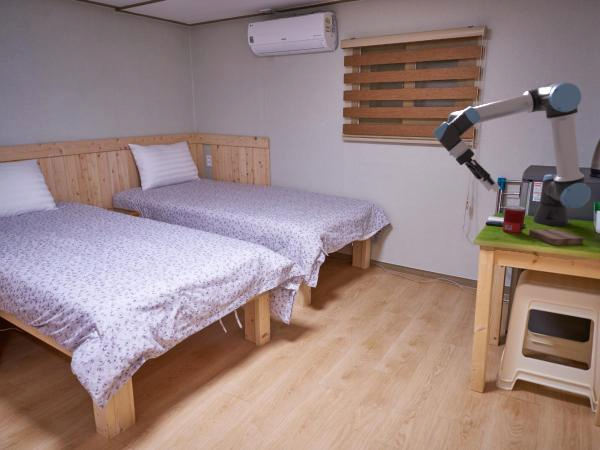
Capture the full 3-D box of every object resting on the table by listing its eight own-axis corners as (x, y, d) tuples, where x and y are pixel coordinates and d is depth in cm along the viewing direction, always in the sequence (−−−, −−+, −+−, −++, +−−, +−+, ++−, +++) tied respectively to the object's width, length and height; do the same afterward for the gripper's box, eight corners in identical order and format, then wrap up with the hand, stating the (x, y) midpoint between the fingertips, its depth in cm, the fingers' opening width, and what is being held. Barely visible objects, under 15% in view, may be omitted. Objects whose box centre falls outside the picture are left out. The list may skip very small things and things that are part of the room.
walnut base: (557, 234, 199) (558, 228, 198) (582, 243, 186) (583, 237, 185) (528, 235, 196) (529, 230, 195) (552, 245, 183) (553, 239, 182)
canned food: (524, 234, 198) (527, 209, 195) (504, 233, 199) (507, 208, 196) (519, 230, 205) (523, 206, 202) (500, 228, 207) (503, 205, 204)
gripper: (451, 159, 213) (481, 193, 212) (459, 158, 189) (493, 196, 188) (464, 148, 212) (495, 183, 211) (473, 145, 187) (508, 184, 187)
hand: (494, 189), depth 200 cm, fingers open, 13 cm apart
